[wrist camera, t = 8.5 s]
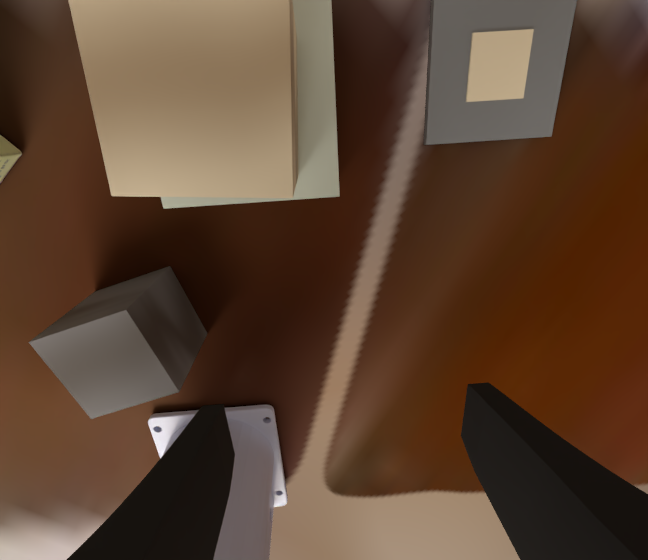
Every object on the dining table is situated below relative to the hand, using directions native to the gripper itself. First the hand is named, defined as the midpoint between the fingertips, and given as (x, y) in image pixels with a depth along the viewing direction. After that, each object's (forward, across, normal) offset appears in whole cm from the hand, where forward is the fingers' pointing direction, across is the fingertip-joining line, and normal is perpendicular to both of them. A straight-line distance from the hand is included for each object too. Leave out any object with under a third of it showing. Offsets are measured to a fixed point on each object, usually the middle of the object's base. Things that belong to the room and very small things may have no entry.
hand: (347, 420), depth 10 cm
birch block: (+6, +3, -9) cm, 11 cm away
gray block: (+10, +10, +1) cm, 14 cm away
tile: (+10, -8, -10) cm, 16 cm away
